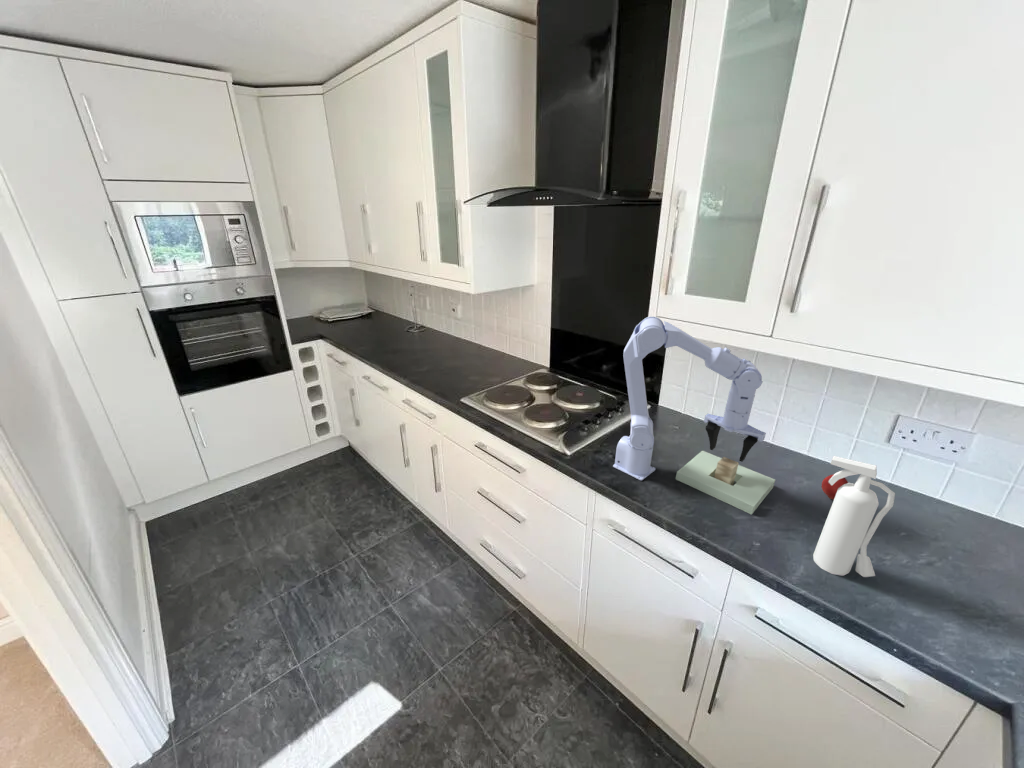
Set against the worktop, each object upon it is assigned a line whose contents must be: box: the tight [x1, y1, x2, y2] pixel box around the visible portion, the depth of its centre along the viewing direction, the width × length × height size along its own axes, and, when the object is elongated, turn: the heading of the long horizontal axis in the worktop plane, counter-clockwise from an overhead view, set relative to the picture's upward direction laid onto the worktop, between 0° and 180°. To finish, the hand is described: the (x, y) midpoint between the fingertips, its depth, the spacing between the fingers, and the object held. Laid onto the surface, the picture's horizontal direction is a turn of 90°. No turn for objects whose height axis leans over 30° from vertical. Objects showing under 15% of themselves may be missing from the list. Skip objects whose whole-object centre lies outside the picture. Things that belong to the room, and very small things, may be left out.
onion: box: [821, 473, 849, 500], centre depth 109 cm, size 6×6×8 cm
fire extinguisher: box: [812, 455, 896, 578], centre depth 85 cm, size 7×12×25 cm, turn 44°
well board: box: [675, 450, 776, 515], centre depth 116 cm, size 20×16×2 cm
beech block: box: [714, 456, 740, 486], centre depth 115 cm, size 4×4×7 cm
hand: (726, 454), depth 113 cm, fingers open, 7 cm apart
